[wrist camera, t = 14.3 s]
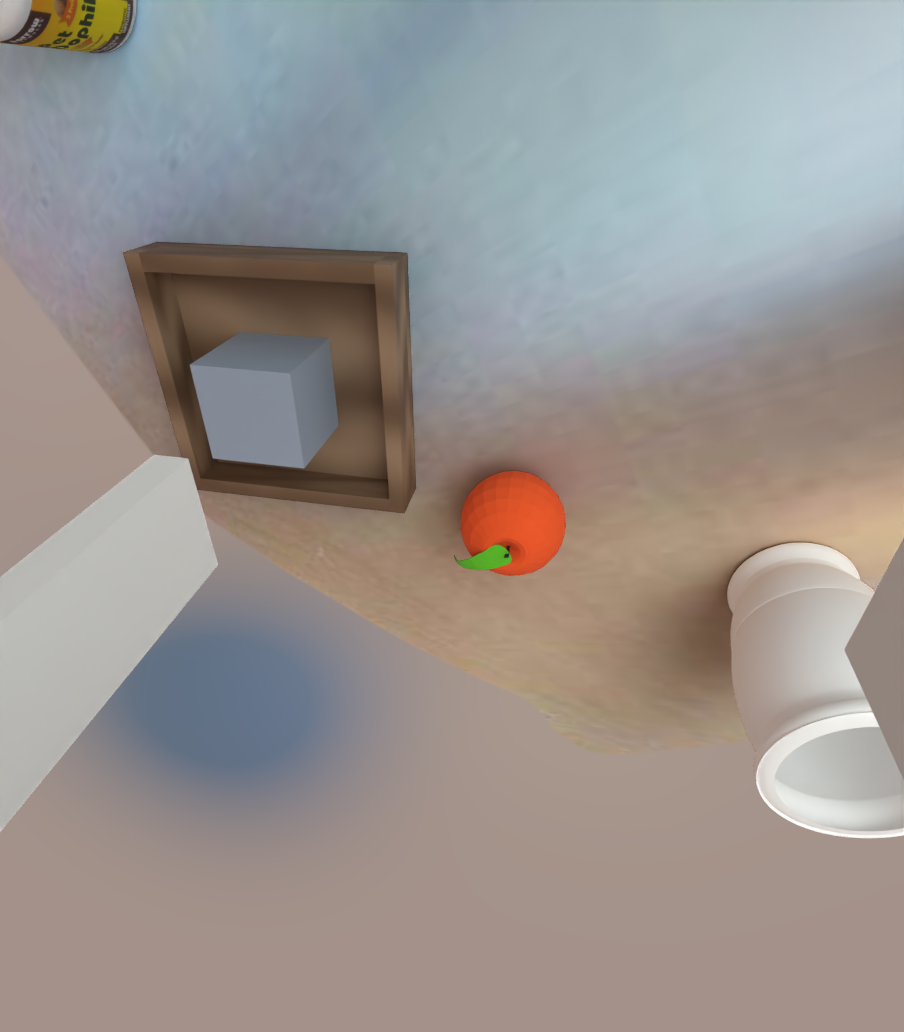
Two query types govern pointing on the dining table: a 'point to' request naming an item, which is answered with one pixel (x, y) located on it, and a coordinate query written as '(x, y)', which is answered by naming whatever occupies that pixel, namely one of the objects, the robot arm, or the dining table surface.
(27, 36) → the supplement bottle
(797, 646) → the jar
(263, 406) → the grey cube
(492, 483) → the clementine
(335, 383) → the walnut tray
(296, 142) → the dining table surface
